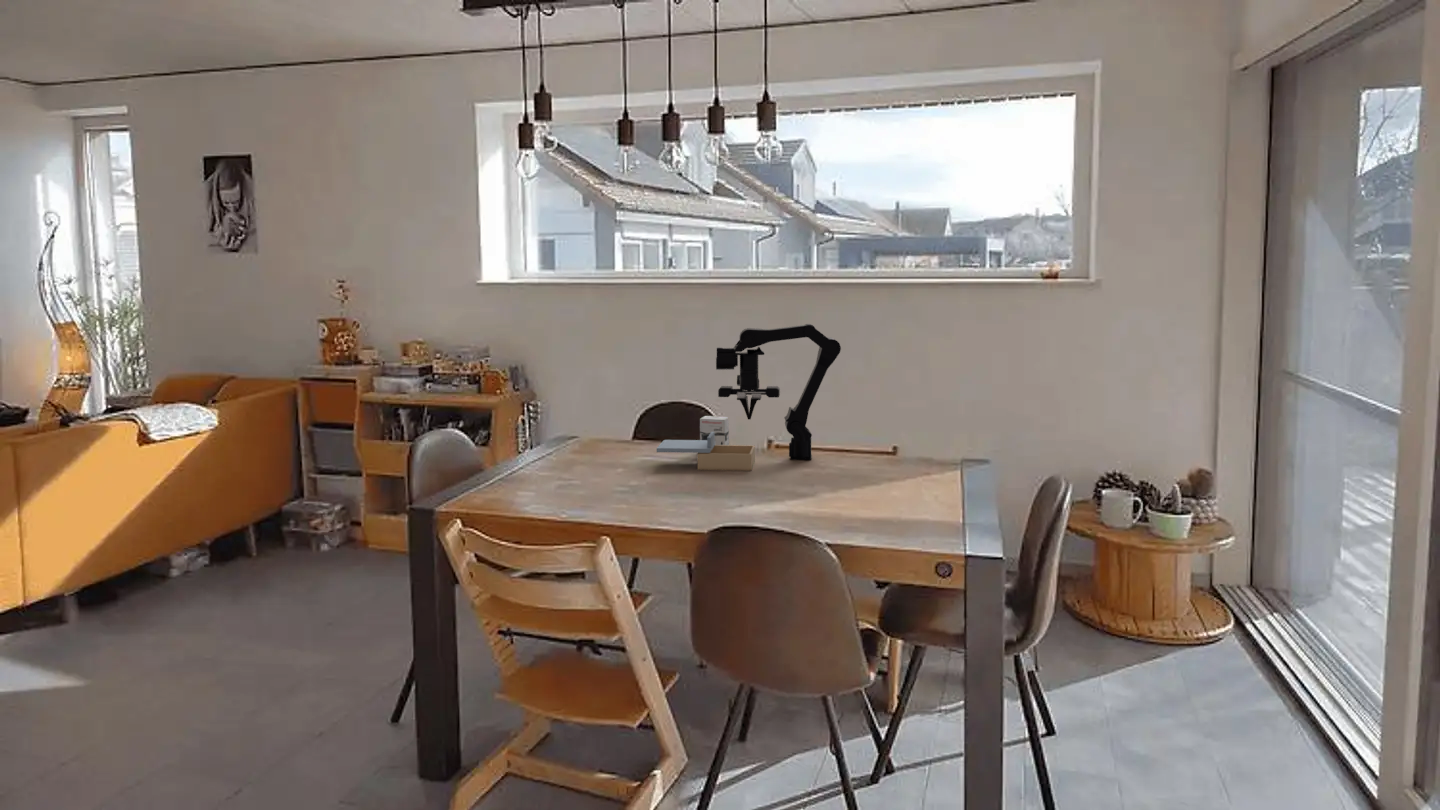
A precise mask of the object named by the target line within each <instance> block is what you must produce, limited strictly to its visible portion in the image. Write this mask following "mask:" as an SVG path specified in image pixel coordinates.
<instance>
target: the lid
mask: <svg viewBox="0 0 1440 810" xmlns="http://www.w3.org/2000/svg"><path fill="white" fill-rule="evenodd" d="M714 446H715V432H711V433H710V434H709V436H708V437H707V440H700V439H697V440H696V439H664V440H662V442H661V443H660V444H659V445H658V446H657V447H656V453H681V454H682V453H687V454H688V453H691V454H692V453H693V454H698V453H710V452H711V450H712V449H713V447H714Z"/></svg>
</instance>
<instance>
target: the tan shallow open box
mask: <svg viewBox="0 0 1440 810" xmlns="http://www.w3.org/2000/svg"><path fill="white" fill-rule="evenodd" d="M755 463H756V445H753V444H752V445H747V444H746V445H745V444H744V445H737V444H736V445H734V444H732V445H731V444H729V445H715V446H714V447H713V449H712V450H711V452H710V453H697V471H719V472H720V471H722V472H723V471H724V472H725V471H728V472H730V471H731V472H732V471H734V472H736V471H737V472H740V471H741V472H752V470H753V467H754V465H755Z"/></svg>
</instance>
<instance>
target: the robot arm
mask: <svg viewBox="0 0 1440 810" xmlns="http://www.w3.org/2000/svg"><path fill="white" fill-rule="evenodd" d="M801 338H808V339H809V340H811V341H812V342H814V343H815V344H816V345H817V346H818V347H819V348H818V351H817V357H816V359H815V360H816V361H815V365H814V366H813V369H812V371H811V373H810V374H809V375H810V376H809V378H808V380H807V382H806V385H805V387H804V388H803V390H802V392H801V395H800V397H799V399H798V402H797V404H796V405H795V406H794V407H793V408H792V407H791V406H789V407H788V411H787V413H786V415H785V416H784V418H783V419H784V426H785V429H786V431H787V433H788V434H790V435H791V436H792V437H791V439H790V442H789V443H788V456H789V457H790V460H791V461H793V460H796V461H797V460H805V461H806V460H807V461H808V460H809V461H811V460H812V457H813V455H812V436H813V434H812V433H811V431H810V429H809V428H808V427H807V426H806V424H807V421H808V416H809V412H810V408H811V406H812V403H814V400H815V398H816V396H817V395H816V394H817V392H818V391H819V388H820V387H821V384H822V383H823V380H824V378H825V375H826V373H827V371H828V369H829V368H830V367H831V366H832V365H833V363H834V362H835V360H836V359H837V358H838V356H839V354H840V353H841V350H842V347H841V344H840V342H839V341H838V340H836V339H835V338H833V337H827V336H825V334H823V333H822V332H821V331H819V330H818V329H817V328H816V327H815V326H814V325H813V324H811V323H806V324H803V325H802V324H801V325H794V326H786V327H779V328H778V327H777V328H769V329H768V328H751V327H747V328H743V330H742V331H740V334H739V340H738V341H737V342H736V344H734V347H731V348H730V347H716V356H715V368H716V369H715V370H716V371H717V370H718V371H721V370H722V371H724V370H727V371H728V370H732V371H733V370H735V368H736V367H738V366H739V374H737V375H736V376H737V377H736V386H738V387H739V388H733V385H721V387H719V388H718V392H717V393H718V394H717V395H718V398H729V397H730V396H731V395H736V400H737V401H739V402H740V404H741V405H742V407H743V410H744V413H745V415H746V417H747V420H751V419H752V417H753V413H754V410H755V406H756V404H757V402H758V401H761V399H762V396H765V395H766V397H767V398H780V395H781V394H780V393H781V391H780V390H781V389H780V387H779V386H777V385H776V386H774V385H773V386H769V385H768V386H766V388H760V379H759V378H760V377H759V356H764V355H765V352H764V351H763V350H762V349H761V347H760V346H763V345H765V344H767V343H771V342H779V341H786V340H795V339H801ZM756 347H757V348H756ZM755 348H756V349H755ZM744 350H746V352H745V351H744ZM743 351H744V352H743ZM738 356H739V357H738ZM738 359H739V361H738ZM748 395H749V396H750V395H751V398H750V403H749V399H748V397H749V396H748Z"/></svg>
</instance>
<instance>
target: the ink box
mask: <svg viewBox="0 0 1440 810" xmlns="http://www.w3.org/2000/svg"><path fill="white" fill-rule="evenodd" d="M729 419H730V418H729V417H728V416H719V415H717V416H714V415H704V416H702V417H701V418H699V440H707V437H708V436H709V434H710V433H711V432H715V445H730V444H729V443H730V433H729V432H730V422H729V421H730V420H729Z"/></svg>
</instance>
